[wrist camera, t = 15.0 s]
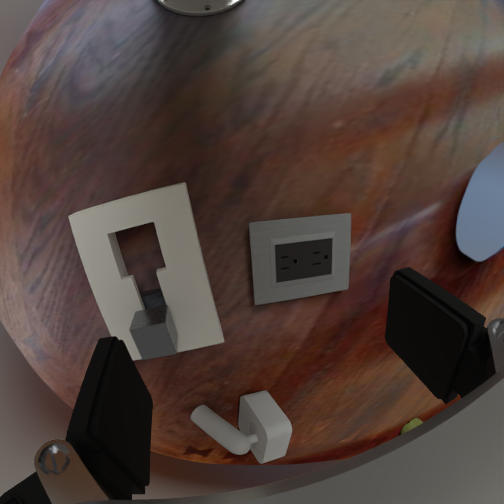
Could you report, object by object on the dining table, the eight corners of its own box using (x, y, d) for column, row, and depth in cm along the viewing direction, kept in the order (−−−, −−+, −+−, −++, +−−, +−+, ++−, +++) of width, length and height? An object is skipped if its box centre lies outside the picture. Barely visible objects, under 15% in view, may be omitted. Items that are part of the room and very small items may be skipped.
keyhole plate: (77, 211, 31) (68, 216, 28) (185, 181, 33) (185, 183, 30) (127, 349, 37) (123, 361, 34) (222, 330, 39) (224, 342, 36)
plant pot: (389, 440, 60) (404, 462, 51) (404, 417, 57) (422, 439, 49) (413, 432, 62) (428, 451, 54) (428, 409, 59) (445, 429, 51)
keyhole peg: (139, 293, 35) (126, 328, 27) (171, 285, 36) (166, 320, 28) (149, 322, 37) (141, 361, 29) (180, 315, 37) (179, 354, 29)
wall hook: (186, 392, 40) (211, 450, 30) (258, 378, 46) (294, 425, 35) (189, 428, 43) (212, 481, 33) (253, 414, 48) (284, 459, 38)
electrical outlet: (343, 210, 38) (352, 214, 35) (341, 283, 41) (349, 290, 39) (246, 219, 36) (249, 223, 33) (252, 298, 39) (255, 306, 37)
